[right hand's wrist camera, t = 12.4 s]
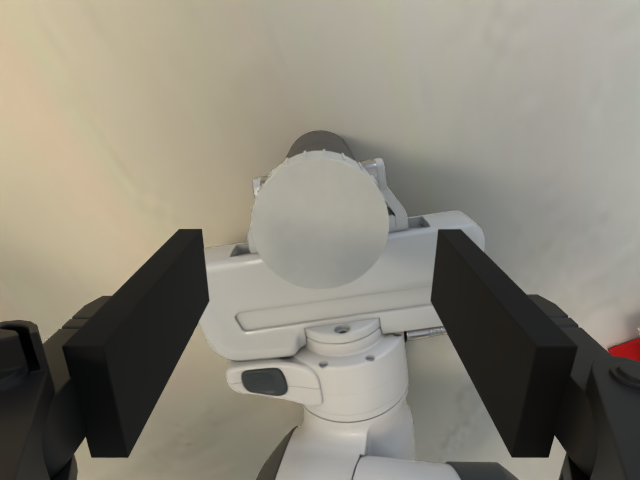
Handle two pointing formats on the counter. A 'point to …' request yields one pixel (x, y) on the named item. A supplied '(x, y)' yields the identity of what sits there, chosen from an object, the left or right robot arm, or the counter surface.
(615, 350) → the toy
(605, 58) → the counter surface
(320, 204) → the lid
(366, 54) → the counter surface
